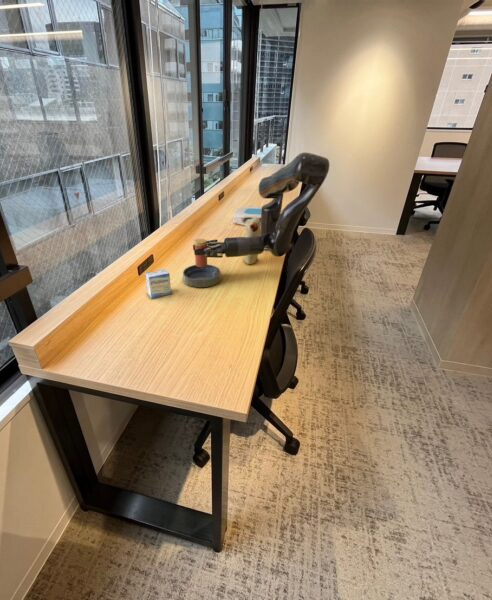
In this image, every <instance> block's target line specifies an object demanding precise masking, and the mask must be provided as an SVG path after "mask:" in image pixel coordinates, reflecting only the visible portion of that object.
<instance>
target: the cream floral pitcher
mask: <svg viewBox="0 0 492 600" xmlns="http://www.w3.org/2000/svg"><path fill="white" fill-rule="evenodd" d="M245 222H246V225H244V226H245V227H244V236H243V237H258V236H260V223H261V218H257V217H254V218H247V219H245ZM258 257H259V254H256V255H246V256H243V260H244V261H243V262H244V263H245V264H247V265H252V264H254V263H256V262H257V261H258Z"/></svg>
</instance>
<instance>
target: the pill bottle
mask: <svg viewBox="0 0 492 600" xmlns="http://www.w3.org/2000/svg"><path fill="white" fill-rule="evenodd" d="M207 241H208V240H207V239H205V238H197V239H196V238H195V239H194V241H193V243H194V244H195V249H206V248H207V246H208V245H207ZM194 244H193V245H194ZM194 260H195V265H196V266H197V267H205V266H207V265H208V257H207V256H205V255H195V254H194Z"/></svg>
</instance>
